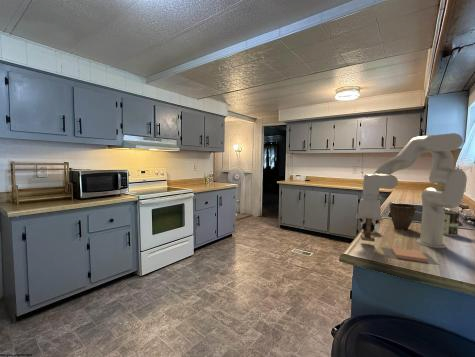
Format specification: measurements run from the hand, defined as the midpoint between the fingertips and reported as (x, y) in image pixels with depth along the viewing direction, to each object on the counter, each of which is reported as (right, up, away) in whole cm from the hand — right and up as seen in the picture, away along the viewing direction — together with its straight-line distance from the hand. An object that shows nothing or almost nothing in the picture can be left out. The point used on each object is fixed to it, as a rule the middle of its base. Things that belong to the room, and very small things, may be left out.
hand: (367, 230), depth 127 cm
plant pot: (+41, -6, +34) cm, 54 cm away
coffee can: (+64, -7, +25) cm, 69 cm away
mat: (+11, -9, -14) cm, 20 cm away
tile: (+13, -8, -10) cm, 18 cm away
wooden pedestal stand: (0, -5, 0) cm, 5 cm away
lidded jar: (+15, -6, +25) cm, 30 cm away
